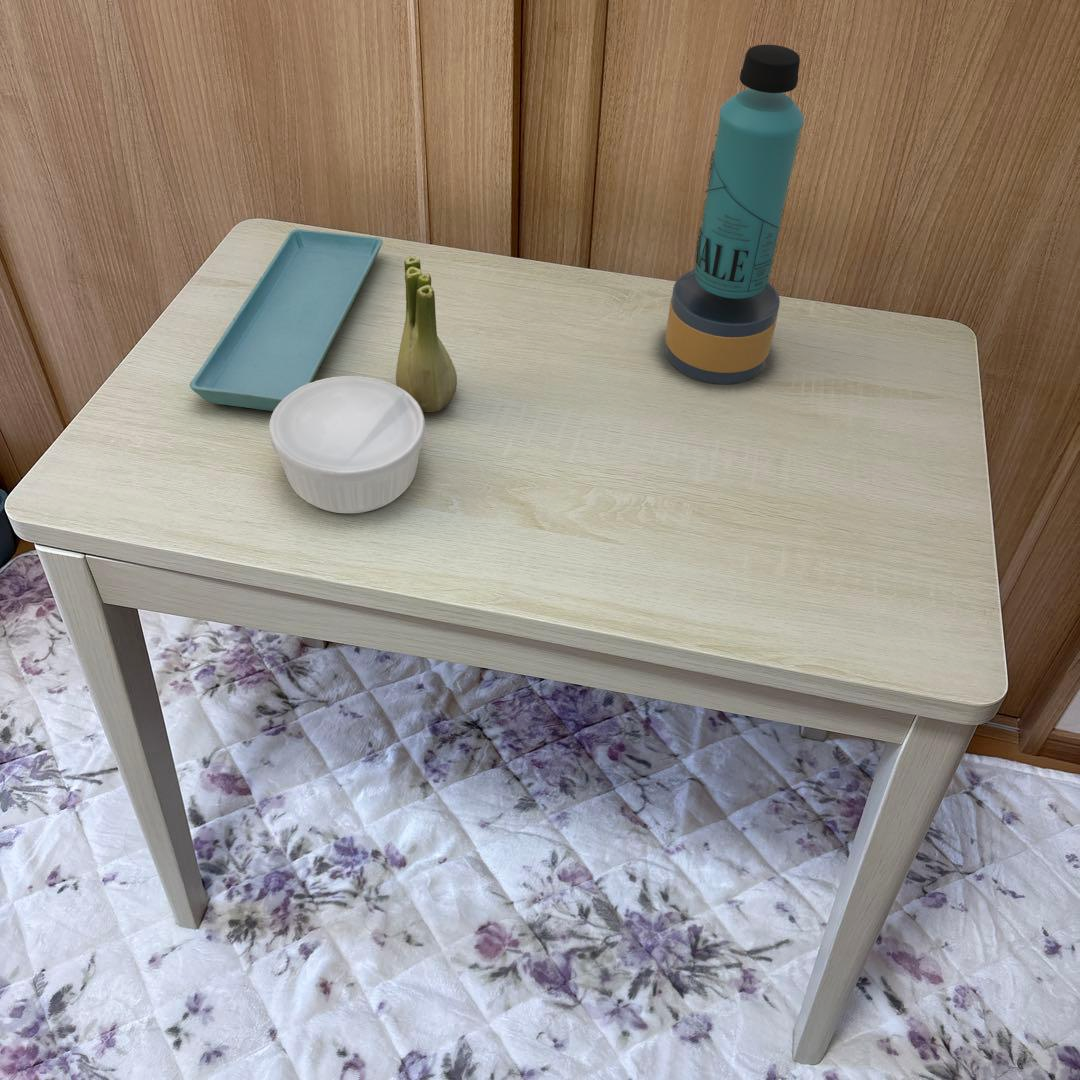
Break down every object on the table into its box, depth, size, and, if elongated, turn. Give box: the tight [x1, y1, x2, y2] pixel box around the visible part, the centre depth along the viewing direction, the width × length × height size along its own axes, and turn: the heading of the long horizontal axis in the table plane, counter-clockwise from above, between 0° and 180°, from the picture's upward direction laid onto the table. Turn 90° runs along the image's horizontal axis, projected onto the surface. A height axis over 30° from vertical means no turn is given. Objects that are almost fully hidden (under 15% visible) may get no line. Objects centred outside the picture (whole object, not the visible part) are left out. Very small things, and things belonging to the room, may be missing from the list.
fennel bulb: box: [395, 255, 458, 413], centre depth 83 cm, size 6×5×12 cm
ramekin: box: [268, 375, 426, 514], centre depth 78 cm, size 11×11×5 cm
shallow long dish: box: [189, 228, 384, 412], centre depth 93 cm, size 26×9×2 cm, turn 171°
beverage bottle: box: [692, 44, 805, 299], centre depth 82 cm, size 6×7×20 cm
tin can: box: [664, 269, 781, 385], centre depth 91 cm, size 9×9×6 cm
